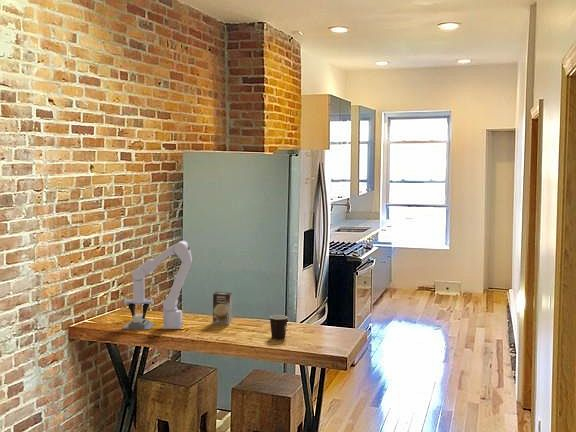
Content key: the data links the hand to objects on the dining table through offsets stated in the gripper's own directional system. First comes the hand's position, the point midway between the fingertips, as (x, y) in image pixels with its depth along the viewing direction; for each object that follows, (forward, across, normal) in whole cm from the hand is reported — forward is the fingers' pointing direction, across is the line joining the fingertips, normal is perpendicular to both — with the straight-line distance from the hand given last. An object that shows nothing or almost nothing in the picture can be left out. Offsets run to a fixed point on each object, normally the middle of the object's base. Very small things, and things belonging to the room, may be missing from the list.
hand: (138, 318), depth 332 cm
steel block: (+3, 0, 0) cm, 3 cm away
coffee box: (+4, -41, -10) cm, 42 cm away
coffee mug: (+4, -70, +17) cm, 72 cm away
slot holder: (+4, 0, 0) cm, 4 cm away
